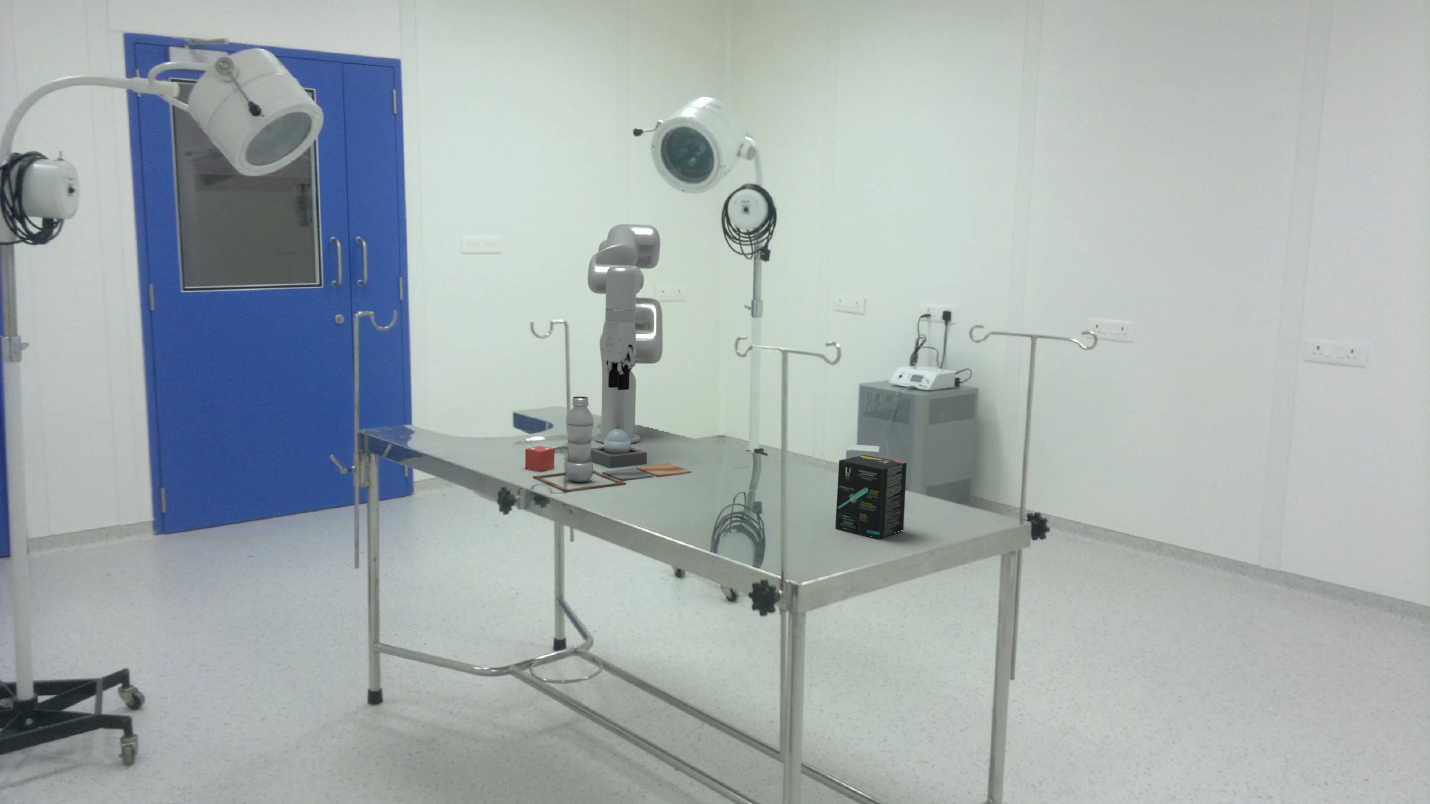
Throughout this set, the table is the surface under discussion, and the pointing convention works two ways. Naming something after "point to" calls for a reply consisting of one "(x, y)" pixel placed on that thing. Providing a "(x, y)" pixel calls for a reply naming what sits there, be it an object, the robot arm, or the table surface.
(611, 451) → the dome
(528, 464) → the red die
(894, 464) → the tampon box
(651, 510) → the table surface
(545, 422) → the table surface
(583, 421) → the plastic bottle
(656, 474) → the game track
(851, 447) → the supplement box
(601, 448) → the grey hollow frame
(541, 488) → the table surface
